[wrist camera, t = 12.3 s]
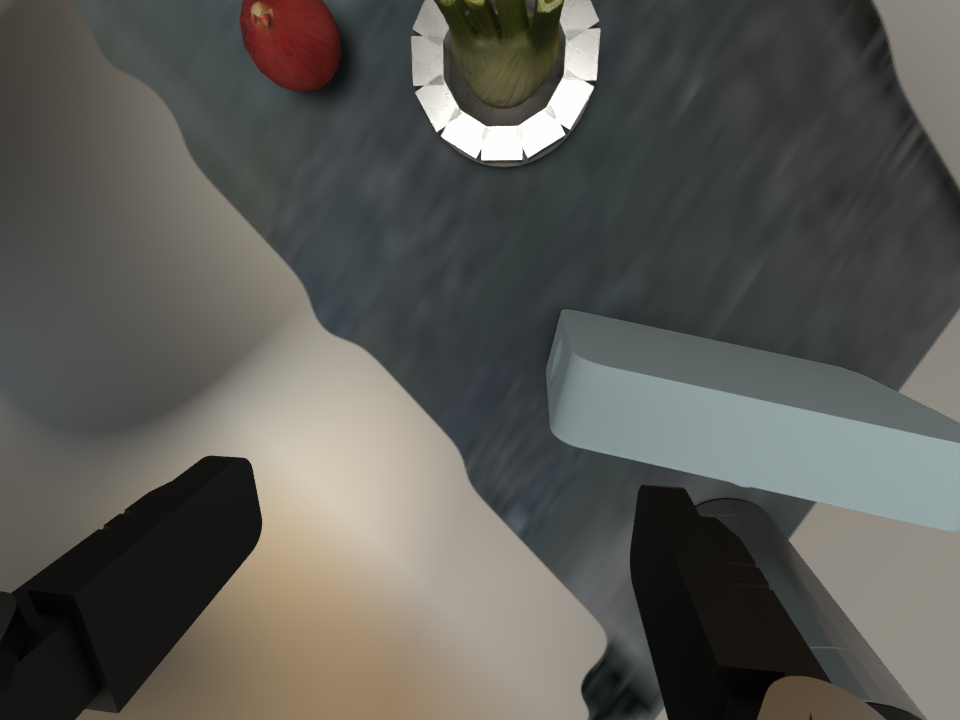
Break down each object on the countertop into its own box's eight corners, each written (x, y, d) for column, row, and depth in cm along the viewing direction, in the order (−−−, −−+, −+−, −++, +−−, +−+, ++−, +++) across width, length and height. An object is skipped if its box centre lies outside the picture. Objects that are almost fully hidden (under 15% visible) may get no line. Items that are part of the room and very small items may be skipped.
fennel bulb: (562, 64, 29) (581, -27, 18) (520, 133, 31) (513, 90, 20) (490, 10, 29) (462, -118, 18) (451, 84, 31) (403, 10, 19)
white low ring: (624, 107, 31) (634, 94, 27) (475, 199, 34) (469, 198, 30) (543, -77, 28) (545, -115, 25) (390, 42, 31) (373, 22, 28)
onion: (288, 106, 33) (216, 75, 26) (273, 14, 31) (190, -48, 24) (363, 99, 32) (311, 65, 25) (351, 4, 31) (292, -63, 23)
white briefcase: (542, 372, 38) (547, 454, 25) (559, 306, 36) (574, 359, 23) (819, 433, 37) (968, 550, 24) (852, 369, 35) (1033, 459, 22)
